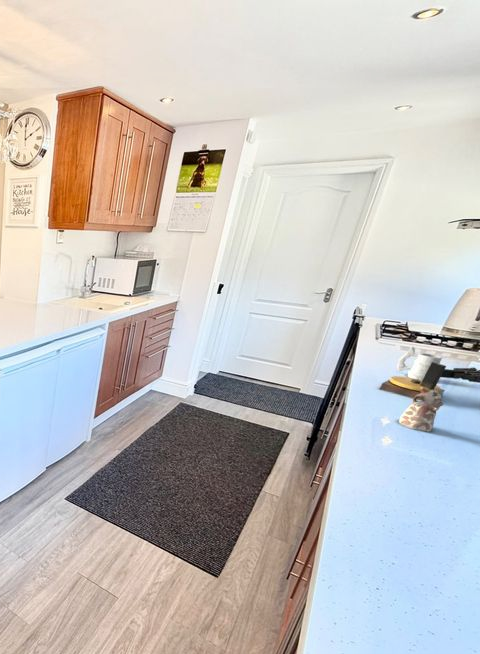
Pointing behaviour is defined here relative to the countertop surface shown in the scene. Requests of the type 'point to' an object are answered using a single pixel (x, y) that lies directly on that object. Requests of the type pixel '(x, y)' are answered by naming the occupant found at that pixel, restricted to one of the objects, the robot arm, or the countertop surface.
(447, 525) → the countertop surface
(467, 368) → the robot arm
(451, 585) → the countertop surface
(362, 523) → the countertop surface
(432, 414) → the figurine
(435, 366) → the wheel
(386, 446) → the countertop surface
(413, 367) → the mug
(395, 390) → the wheel base
